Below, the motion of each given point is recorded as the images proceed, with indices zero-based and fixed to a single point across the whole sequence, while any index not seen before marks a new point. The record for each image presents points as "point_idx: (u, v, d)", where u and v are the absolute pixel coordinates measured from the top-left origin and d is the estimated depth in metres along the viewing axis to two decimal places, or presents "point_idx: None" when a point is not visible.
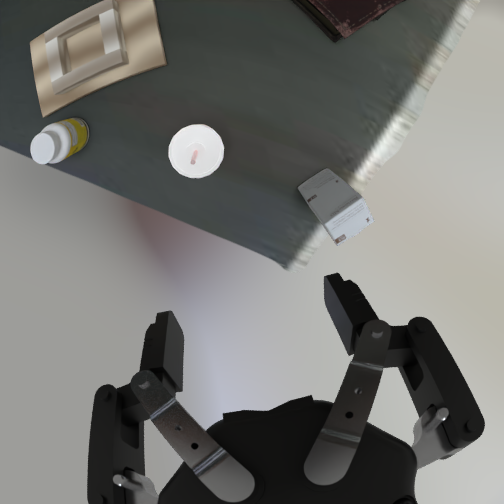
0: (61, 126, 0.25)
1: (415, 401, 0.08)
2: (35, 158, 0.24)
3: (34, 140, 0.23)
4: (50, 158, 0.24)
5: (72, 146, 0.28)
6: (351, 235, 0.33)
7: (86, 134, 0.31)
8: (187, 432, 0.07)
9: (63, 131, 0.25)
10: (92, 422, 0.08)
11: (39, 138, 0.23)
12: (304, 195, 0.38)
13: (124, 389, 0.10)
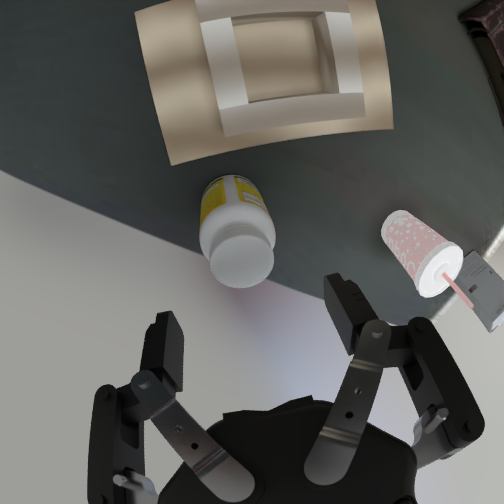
0: (264, 215, 0.18)
1: (415, 400, 0.08)
2: (221, 277, 0.17)
3: (224, 246, 0.16)
4: (259, 281, 0.18)
5: None
6: None
7: None
8: (187, 432, 0.07)
9: (271, 225, 0.19)
10: (92, 422, 0.08)
11: (239, 244, 0.16)
12: (463, 282, 0.32)
13: (123, 389, 0.10)
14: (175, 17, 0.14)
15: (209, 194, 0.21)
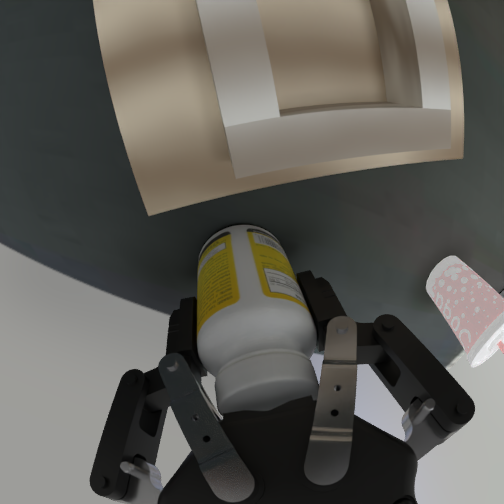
0: (304, 318, 0.11)
1: (396, 396, 0.09)
2: None
3: (242, 393, 0.08)
4: None
5: None
6: None
7: None
8: (203, 423, 0.07)
9: (313, 331, 0.11)
10: (113, 404, 0.09)
11: (267, 389, 0.09)
12: None
13: (150, 374, 0.10)
14: None
15: (209, 264, 0.14)
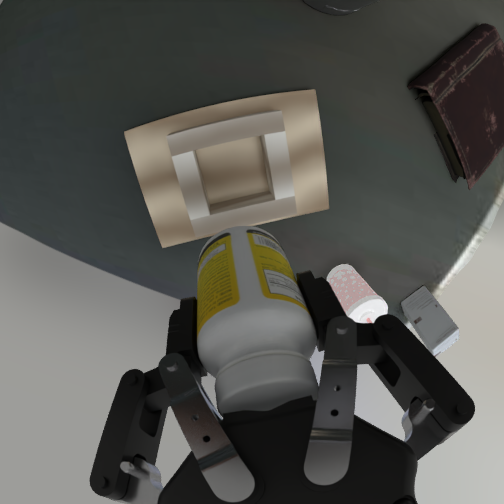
0: (304, 319, 0.11)
1: (396, 396, 0.09)
2: None
3: (242, 394, 0.08)
4: None
5: None
6: (443, 350, 0.36)
7: None
8: (203, 423, 0.07)
9: (313, 332, 0.11)
10: (113, 404, 0.09)
11: (267, 390, 0.09)
12: (410, 314, 0.42)
13: (150, 374, 0.10)
14: (155, 138, 0.25)
15: (209, 265, 0.14)
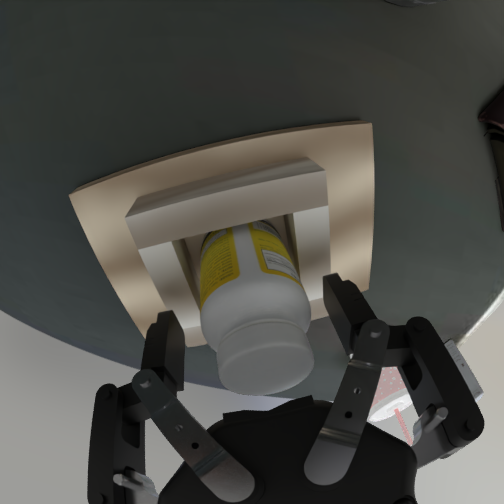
0: (298, 293, 0.12)
1: (415, 400, 0.08)
2: (236, 388, 0.11)
3: (242, 359, 0.10)
4: (290, 386, 0.11)
5: None
6: None
7: None
8: (188, 432, 0.07)
9: (307, 306, 0.12)
10: (93, 421, 0.08)
11: (265, 355, 0.10)
12: None
13: (125, 388, 0.10)
14: (114, 205, 0.16)
15: (212, 248, 0.15)
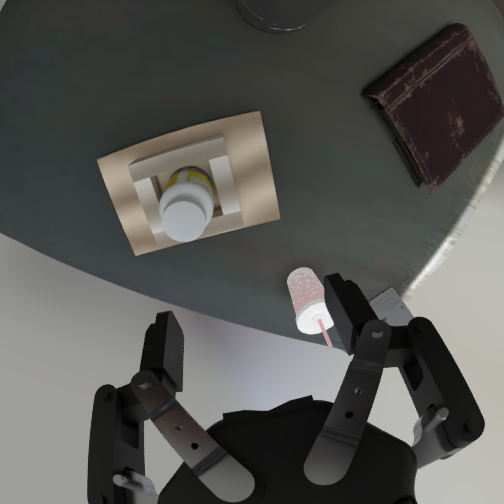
0: (202, 190, 0.25)
1: (415, 401, 0.08)
2: (170, 233, 0.24)
3: (170, 209, 0.23)
4: (197, 236, 0.24)
5: None
6: None
7: None
8: (187, 432, 0.07)
9: (207, 197, 0.25)
10: (92, 422, 0.08)
11: (179, 208, 0.23)
12: None
13: (124, 389, 0.10)
14: (122, 165, 0.29)
15: (169, 180, 0.28)
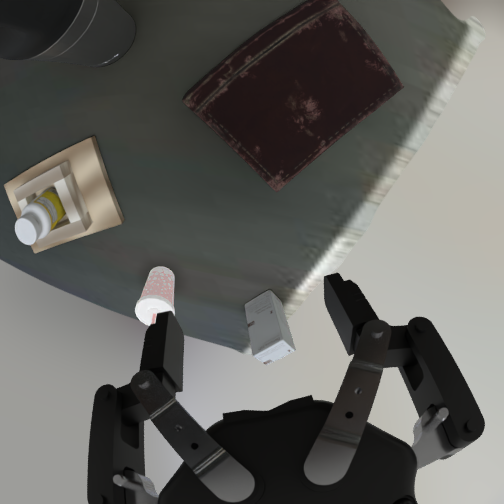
0: (39, 207, 0.27)
1: (416, 401, 0.08)
2: (21, 239, 0.26)
3: (17, 223, 0.25)
4: (34, 241, 0.27)
5: (52, 223, 0.30)
6: (276, 359, 0.43)
7: None
8: (187, 432, 0.07)
9: (42, 213, 0.28)
10: (92, 422, 0.08)
11: (21, 222, 0.25)
12: (247, 317, 0.49)
13: (124, 389, 0.10)
14: (17, 188, 0.31)
15: None
